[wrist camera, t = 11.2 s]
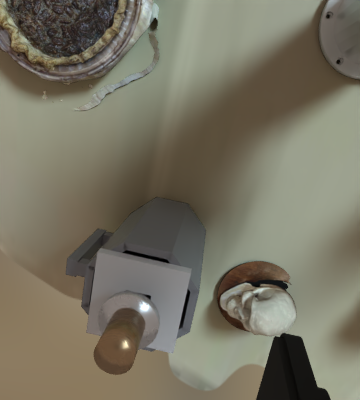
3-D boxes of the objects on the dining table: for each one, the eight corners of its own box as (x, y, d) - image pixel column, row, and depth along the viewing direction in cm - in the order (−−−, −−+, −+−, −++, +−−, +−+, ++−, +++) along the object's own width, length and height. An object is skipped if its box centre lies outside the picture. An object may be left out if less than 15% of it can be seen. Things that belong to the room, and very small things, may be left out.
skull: (216, 337, 55) (215, 328, 46) (219, 273, 60) (218, 254, 51) (294, 344, 53) (309, 337, 44) (291, 278, 58) (303, 259, 49)
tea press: (210, 208, 51) (205, 264, 32) (195, 278, 54) (182, 365, 35) (113, 187, 51) (54, 230, 33) (103, 257, 55) (44, 332, 36)
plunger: (196, 224, 48) (176, 324, 25) (184, 277, 50) (156, 412, 28) (137, 211, 48) (67, 298, 26) (128, 265, 50) (56, 387, 28)
